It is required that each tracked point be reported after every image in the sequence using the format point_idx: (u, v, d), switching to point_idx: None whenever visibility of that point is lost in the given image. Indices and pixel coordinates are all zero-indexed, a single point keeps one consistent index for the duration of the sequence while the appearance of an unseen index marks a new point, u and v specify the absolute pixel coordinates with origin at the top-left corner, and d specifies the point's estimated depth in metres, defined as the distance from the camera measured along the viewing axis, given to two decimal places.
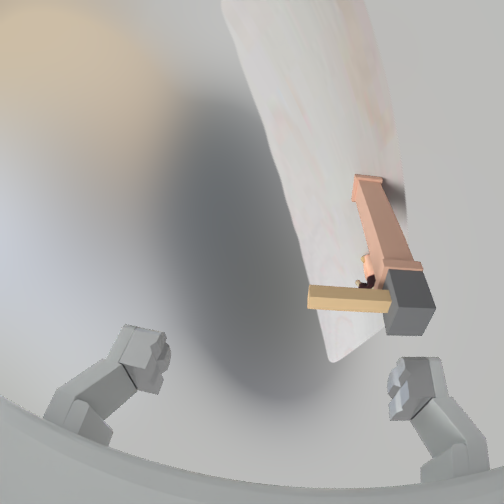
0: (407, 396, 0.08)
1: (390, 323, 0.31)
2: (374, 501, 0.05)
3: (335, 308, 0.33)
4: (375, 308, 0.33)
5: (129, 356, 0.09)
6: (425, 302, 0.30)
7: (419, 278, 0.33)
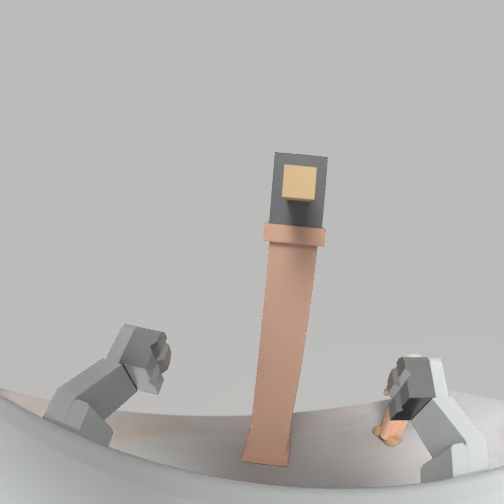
0: (407, 396, 0.08)
1: (308, 158, 0.26)
2: (374, 501, 0.05)
3: None
4: None
5: (129, 356, 0.09)
6: None
7: None
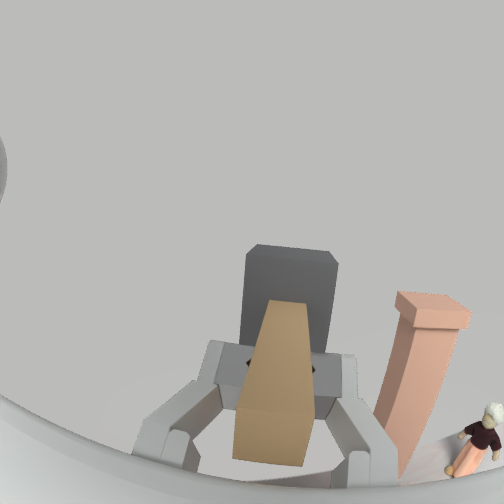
0: None
1: (304, 266, 0.15)
2: (374, 501, 0.05)
3: (301, 358, 0.10)
4: (292, 312, 0.14)
5: (225, 375, 0.09)
6: None
7: None
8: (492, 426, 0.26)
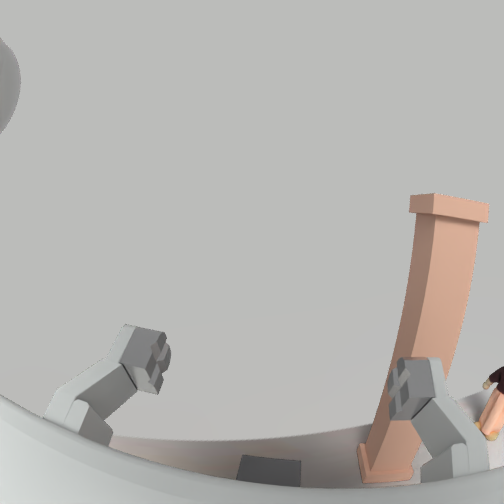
0: (407, 396, 0.08)
1: None
2: (374, 501, 0.05)
3: None
4: None
5: (129, 356, 0.09)
6: None
7: None
8: None
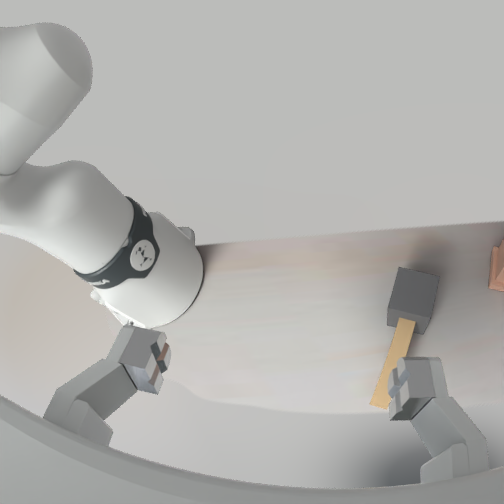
0: (407, 396, 0.08)
1: (414, 315, 0.27)
2: (374, 501, 0.05)
3: None
4: (405, 334, 0.28)
5: (129, 356, 0.09)
6: None
7: None
8: None
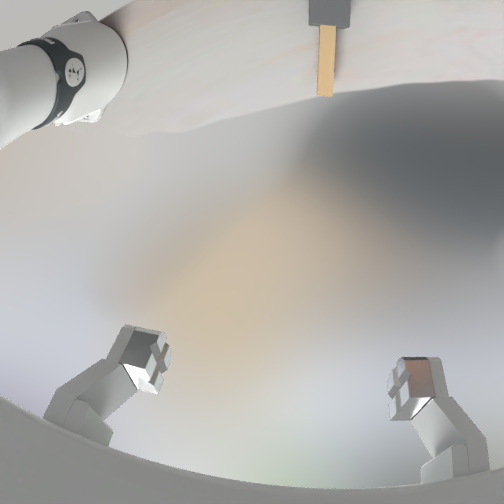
0: (407, 396, 0.08)
1: (334, 25, 0.27)
2: (374, 501, 0.05)
3: (331, 73, 0.33)
4: (330, 37, 0.30)
5: (129, 356, 0.09)
6: None
7: None
8: None
